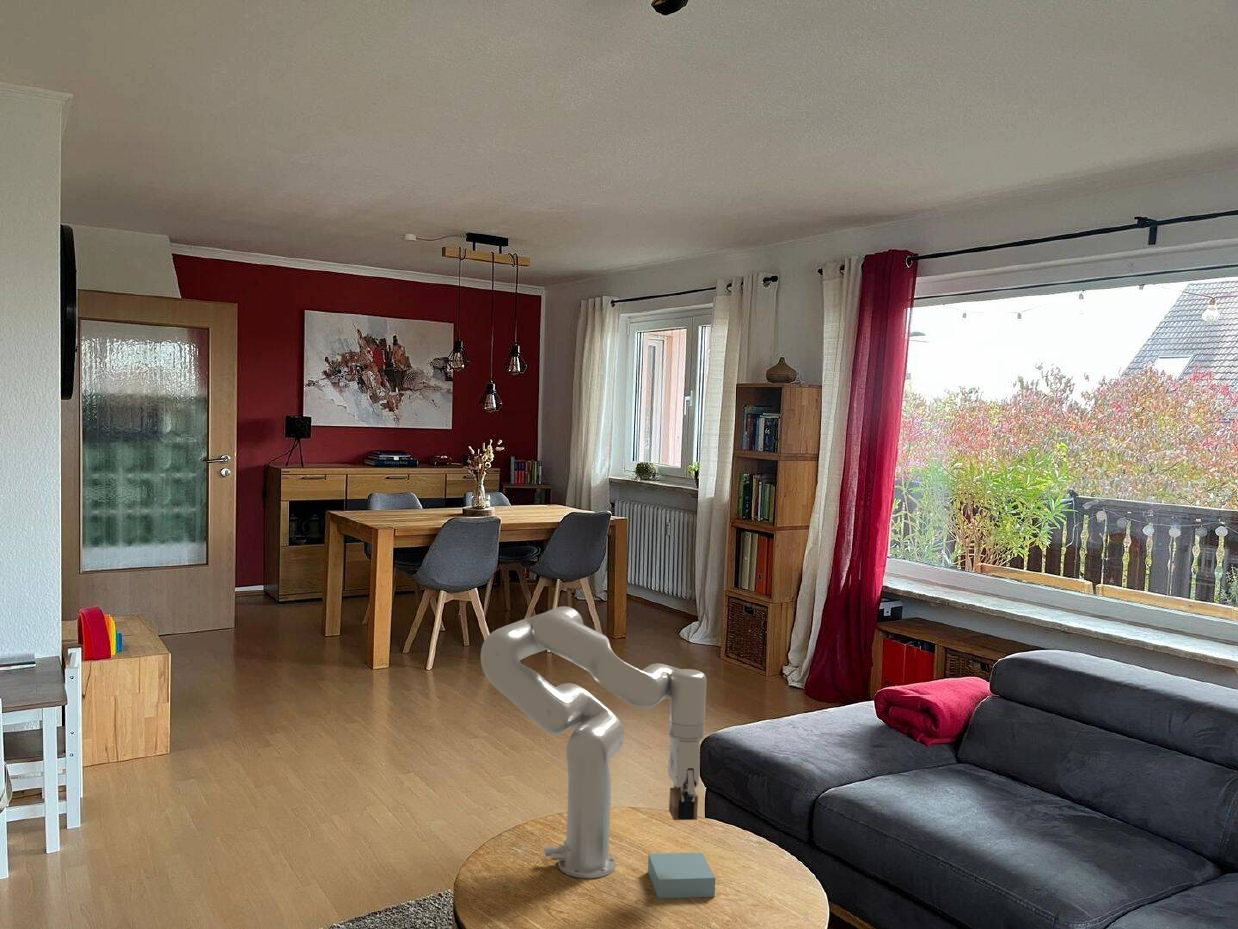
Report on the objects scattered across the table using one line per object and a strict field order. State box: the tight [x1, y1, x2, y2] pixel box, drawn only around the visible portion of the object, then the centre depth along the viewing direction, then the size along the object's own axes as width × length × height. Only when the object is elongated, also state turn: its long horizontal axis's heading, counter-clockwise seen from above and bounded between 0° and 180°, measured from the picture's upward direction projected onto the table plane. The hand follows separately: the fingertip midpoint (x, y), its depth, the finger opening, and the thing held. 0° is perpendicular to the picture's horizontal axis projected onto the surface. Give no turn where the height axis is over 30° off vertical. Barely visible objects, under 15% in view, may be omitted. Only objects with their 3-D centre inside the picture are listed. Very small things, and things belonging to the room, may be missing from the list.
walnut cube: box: [668, 787, 699, 821], centre depth 199 cm, size 5×5×5 cm
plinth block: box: [647, 852, 716, 900], centre depth 200 cm, size 12×12×4 cm
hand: (683, 813), depth 199 cm, fingers closed on walnut cube, 5 cm apart
